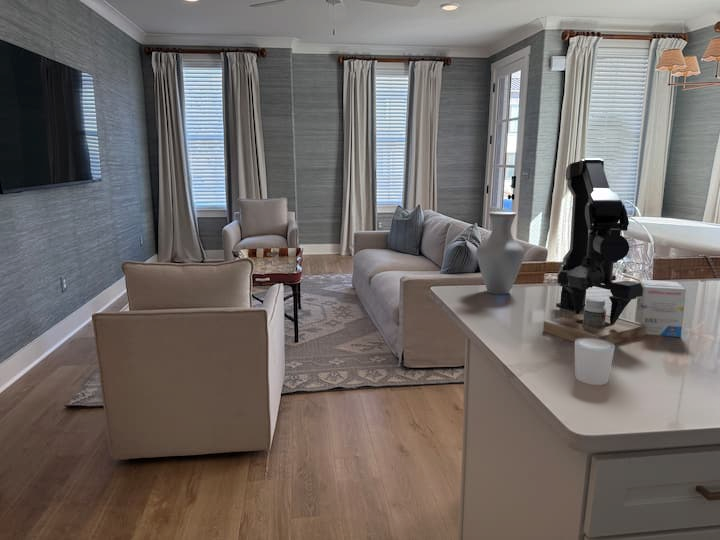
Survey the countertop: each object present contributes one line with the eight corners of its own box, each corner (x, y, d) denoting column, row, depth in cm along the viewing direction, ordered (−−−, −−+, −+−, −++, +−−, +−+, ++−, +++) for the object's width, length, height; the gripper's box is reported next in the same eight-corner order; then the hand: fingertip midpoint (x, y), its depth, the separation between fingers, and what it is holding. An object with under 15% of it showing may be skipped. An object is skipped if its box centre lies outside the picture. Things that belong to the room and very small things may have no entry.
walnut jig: (592, 320, 131) (593, 310, 131) (645, 335, 119) (646, 324, 119) (543, 331, 123) (543, 320, 122) (594, 349, 111) (595, 337, 110)
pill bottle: (606, 337, 119) (609, 302, 117) (584, 336, 119) (587, 301, 118) (600, 330, 123) (604, 297, 121) (580, 329, 124) (582, 296, 122)
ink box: (672, 327, 126) (678, 280, 123) (681, 338, 118) (687, 288, 115) (633, 323, 128) (638, 278, 126) (639, 334, 121) (644, 286, 118)
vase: (474, 285, 169) (477, 210, 164) (519, 287, 166) (524, 210, 161) (475, 296, 155) (478, 214, 150) (524, 299, 152) (530, 215, 147)
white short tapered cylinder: (565, 372, 99) (567, 337, 97) (599, 370, 99) (602, 336, 98) (583, 387, 92) (586, 350, 91) (619, 385, 93) (623, 349, 91)
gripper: (543, 250, 122) (539, 313, 125) (615, 263, 106) (608, 335, 109) (575, 246, 127) (570, 307, 130) (648, 258, 111) (640, 327, 114)
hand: (594, 318), depth 121 cm, fingers open, 9 cm apart
